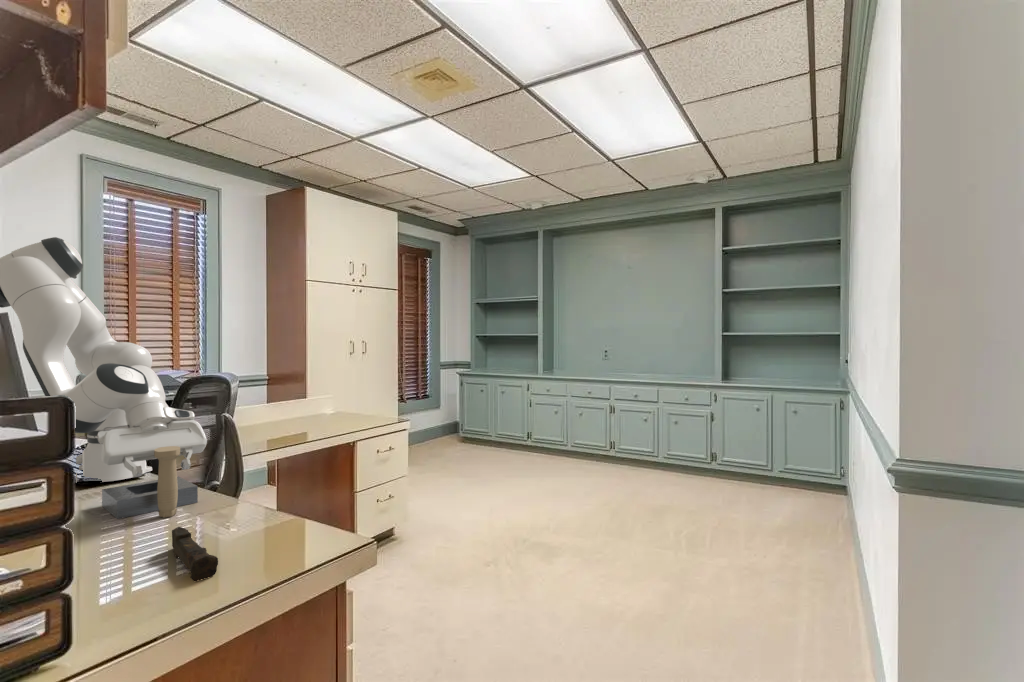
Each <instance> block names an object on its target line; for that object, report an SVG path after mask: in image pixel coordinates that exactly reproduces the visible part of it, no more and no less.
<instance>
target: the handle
mask: <svg viewBox="0 0 1024 682" xmlns="http://www.w3.org/2000/svg"><path fill="white" fill-rule="evenodd" d="M179 455H180V447H178V446H168V447H160V448H157V449H155V450H154V456H155V458H157V459H156V460H158V474H157V475H158V477H157V480H158V487H157V499H158V508H159V510H158V516H159V517H160V518H163V519H164V518H171V517H173V516H175V515H176V514H177V510H178V507H177V499H178V498H177V497H178V492H177V491H178V489H177V488H178V483H177V477H178V471H177V470H178V468H177V457H180V456H181V455H180V456H179Z"/></svg>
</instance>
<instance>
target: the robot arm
mask: <svg viewBox="0 0 1024 682" xmlns="http://www.w3.org/2000/svg"><path fill="white" fill-rule="evenodd" d="M83 268H84V264H83V260H82V257H81V255H80V252H79V251H78V250H77V249H76V248H75V247H74V245H72V244H71V243H69V242H67V241H66V240H64V239H62V238H60V237H56V236H54V237H48V238H44V239H41V241H39V242H36V243H31V244H29V245H26V246H23V247H20V248H17V249H15V250H13V251H11V252H10V253H7V254H5V255H3V256H1V257H0V308H2V309H3V308H8V307H11V309H13V311H14V312H15V314H16V316H17V318H18V320H19V323H20V327H21V330H22V331H21V332H22V337H23V338H22V350H23V352H24V355H25V358H26V360H27V362H28V364H29V366H30V368H31V370H32V373H33V375H34V376H35V378H36V380H37V382H38V384H39V386H40V389H41V390H42V393H43V394H44V396H53V395H65V396H68V397H70V398H71V399H72V400H73V401H74V402H75V406H76V428H75V433H74V434H87V435H86V437H87V445H86V447H85V448H84V450H83V451H82V454H79V455H77V456H76V457H75V463H76V464H75V465H78V469H79V470H83V476H85V477H91V478H98V479H101V480H102V482H101V483H104V482H114V481H121V480H125V479H126V480H128V479H131V478H137V477H142V475H143V474H145V473H148V472H151V471H153V467H152V466H150V465H149V466H148V465H147V461H150V460H158V459H157V458H155V456H154V450H155V449H157V448H160V447H168V446H178V447H180V455H179V456H178V457H180V456H183V458H184V459H182V460H181V463H180V467H181V470H182V471H183V470H189V469H190V468H191V460H190V459H191V457H192V455H195V454H200V453H202V452H204V450H205V448H206V446H207V444H208V439H207V435H206V433H205V430H204V429H203V427H202V425H201V423H199V422H198V421H197V420H195V416H196V414H195V412H194V411H192V410H186V409H180V408H174V407H170V406H169V405H168V404H167V402H166V398H167V396H166V393H165V389H164V386H163V383H162V381H161V379H160V378H159V376H158V374H157V373H156V372H155V371H154V370H153V369H152V366H153V357H152V354H151V353H150V351H149V350H148V349H147V348H146V347H144V346H142V345H140V344H137V343H133V342H129V341H124V342H123V341H122V342H120V341H119V342H118V341H116V340H115V339H114V338H113V337H112V335H111V333H110V331H109V328H108V327H107V324H106V323H107V320H106V317H105V316H104V314H103V313H102V312H101V311H100V309H98V308H97V306H96V305H95V304H94V303H93V301H92V300H91V299H90V298H89V296H87V294H86V293H85V292H84V291H83V290H82V289H81V287H79V285H77V284H76V283H75V282H74V281H73V280H72V279H77V277H78V275H79V274H80V273H81V272H82V270H83ZM66 346H67V347H68V348H67V349H68V350H69V352H70V353H71V354H72V356H73V358H74V360H75V361H74V362H75V363H74V364H75V365H76V366H75V367H76V368H77V370H78V371H79V372H80V373H82V374H83V375H84V376H85V377H83V379H82V380H80V381H79V382H78V383H77V384H75V382H74V380H73V378H72V376H71V375H70V372H69V371H68V370H69V369H68V368H67V367H66V364H65V361H64V356H65V355H64V354H65V349H66ZM76 484H77V473H76Z"/></svg>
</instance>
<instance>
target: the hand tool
mask: <svg viewBox="0 0 1024 682" xmlns="http://www.w3.org/2000/svg"><path fill="white" fill-rule="evenodd" d="M171 539H172V540H171V543H172V544H171V546H172V548H173V549H172V551H173V555H174V556H173V557H174V558H175V557H176V558H175V559H180V562H181V563H182V564H183V565H184V566H185V568H186V569H187V570H188V571H189V572H190V579H191V580H192V581H193V582H194V581H196V582H198V581H197V580H199V581H202V580H201V579H203V580H205V579H204V578H207V579H209V578H208V577H210V578H212V577H213V576H215V575H216V573H217V570H218V569H217V568H218V565H219V560H218V559H219V558H218V557H217V556H216V555H213V554H209V553H208V552H207V548H206V547H202V546H200V545H199V544H198V543H197V542H196V541H194V539H193V538H192V532H190V531H189V530H188V529H186V528H185V527H182V526H181V527H180V526H177V527H176V528H173V529H172V530H171ZM178 557H179V558H178Z"/></svg>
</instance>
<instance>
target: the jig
mask: <svg viewBox="0 0 1024 682" xmlns="http://www.w3.org/2000/svg"><path fill="white" fill-rule="evenodd" d="M177 483H178V488H177V489H178V491H177V492H178V497H177V498H178V499H177V507H176V508H178V507H181V506H186V505H191V504H197V503H198V500H199V499H198V497H199V496H198V491H199V489H198V488H199V487H198V485H197V484H195V483H192V482H191V481H188V480H187V479H185V478H182V477H180V476H178V475H177ZM157 487H158V479H156V480H155V479H154V480H149V481H143V482H136V483H131V484H127V485H119V486H113V487H108V488H102V489H101V506H102V508H104V509H105V510H106V511H107V512H109V513H110V514H111V515H112V517H114V518H116V520H118V519H119V520H120V519H125V518H128V517H133V516H139V515H142V514H148V513H153V512H159V511H160V510H159V508H158V499H157Z"/></svg>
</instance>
